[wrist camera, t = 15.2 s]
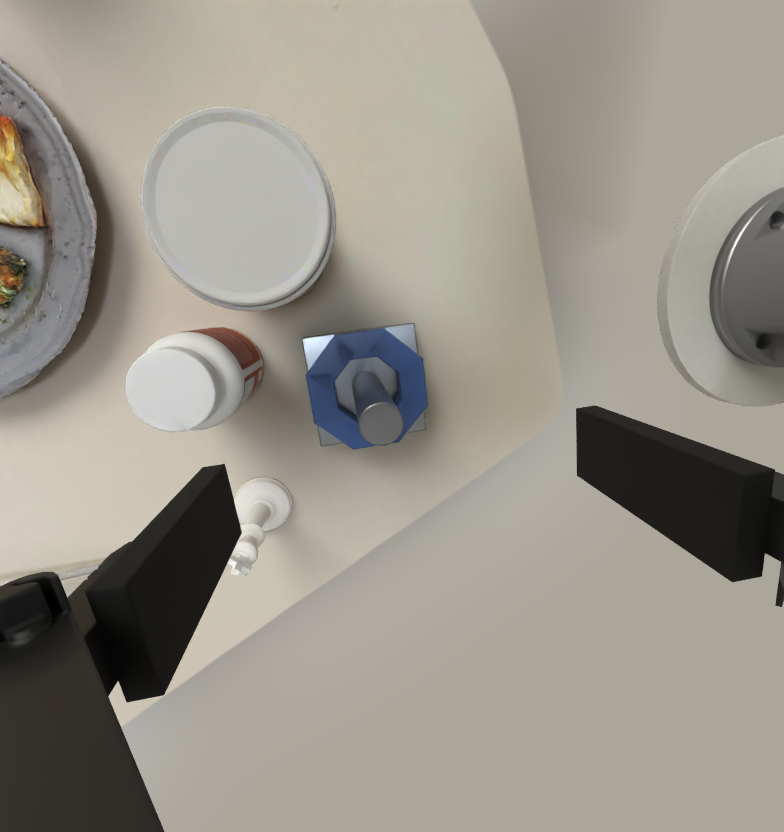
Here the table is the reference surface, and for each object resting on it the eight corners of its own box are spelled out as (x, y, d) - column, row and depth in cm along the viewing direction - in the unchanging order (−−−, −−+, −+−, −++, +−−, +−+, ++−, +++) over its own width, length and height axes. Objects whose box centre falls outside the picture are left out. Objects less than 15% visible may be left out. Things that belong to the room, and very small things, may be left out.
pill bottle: (175, 334, 31) (90, 343, 21) (254, 321, 32) (211, 324, 21) (197, 410, 33) (129, 454, 22) (272, 396, 34) (241, 434, 23)
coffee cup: (319, 328, 33) (308, 334, 21) (200, 290, 31) (116, 275, 19) (351, 209, 31) (358, 146, 19) (227, 162, 29) (153, 61, 18)
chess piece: (269, 538, 37) (244, 617, 27) (223, 507, 35) (179, 580, 26) (303, 498, 36) (289, 565, 26) (257, 466, 35) (226, 524, 25)
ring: (414, 323, 32) (419, 323, 30) (426, 430, 34) (431, 437, 32) (301, 338, 31) (299, 339, 29) (321, 446, 34) (319, 454, 32)
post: (411, 322, 34) (456, 327, 21) (422, 425, 36) (469, 487, 23) (303, 337, 33) (278, 351, 20) (321, 441, 35) (311, 515, 22)
